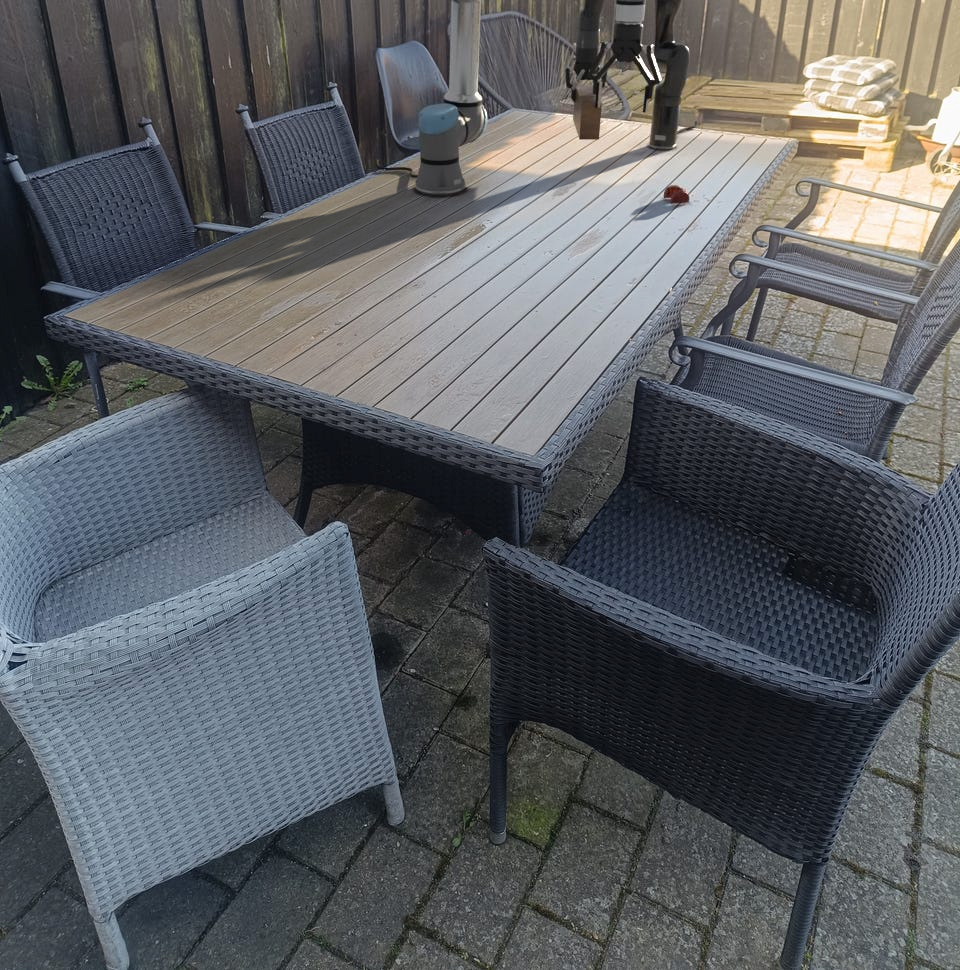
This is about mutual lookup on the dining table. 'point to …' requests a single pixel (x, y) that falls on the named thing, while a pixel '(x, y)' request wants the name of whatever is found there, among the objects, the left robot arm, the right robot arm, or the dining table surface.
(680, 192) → the dental model
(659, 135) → the right robot arm
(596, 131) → the box
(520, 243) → the dining table surface
